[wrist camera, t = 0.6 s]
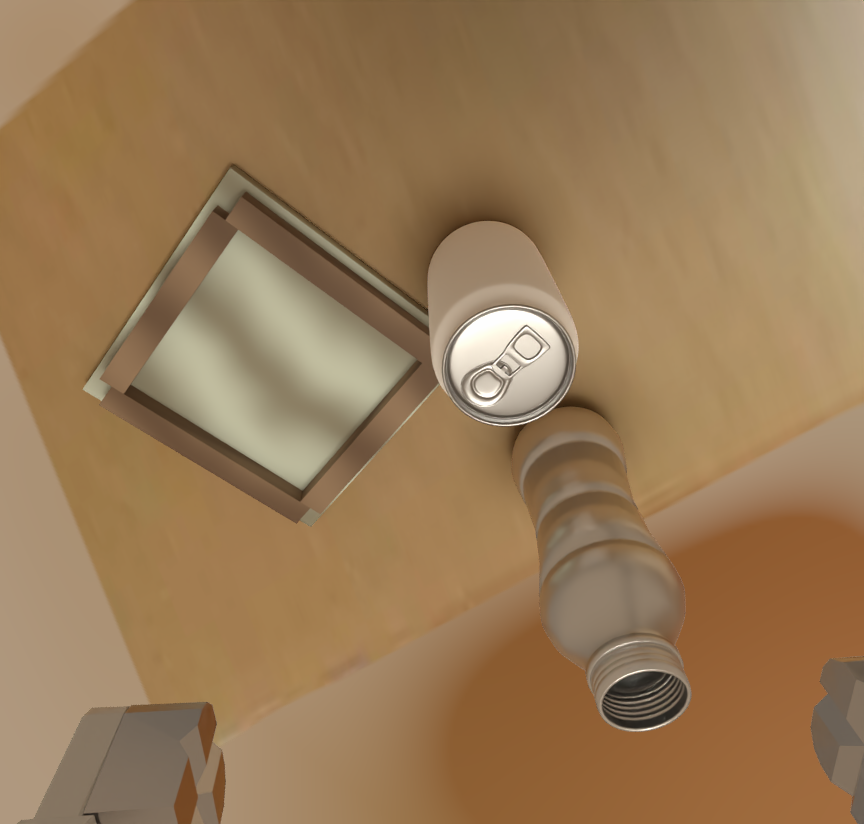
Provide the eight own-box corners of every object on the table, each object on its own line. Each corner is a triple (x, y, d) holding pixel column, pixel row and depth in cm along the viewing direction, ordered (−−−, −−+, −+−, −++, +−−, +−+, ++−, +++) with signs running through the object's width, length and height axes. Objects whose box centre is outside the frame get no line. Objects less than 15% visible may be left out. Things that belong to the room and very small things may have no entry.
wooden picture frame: (233, 164, 39) (225, 172, 37) (470, 343, 44) (472, 357, 42) (87, 383, 45) (74, 399, 43) (312, 519, 50) (308, 538, 48)
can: (402, 280, 42) (399, 373, 32) (484, 192, 40) (509, 261, 29) (485, 352, 44) (508, 461, 34) (567, 272, 42) (619, 363, 32)
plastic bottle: (630, 453, 48) (755, 717, 30) (534, 499, 49) (600, 776, 32) (587, 374, 45) (697, 614, 28) (487, 425, 47) (531, 683, 29)
